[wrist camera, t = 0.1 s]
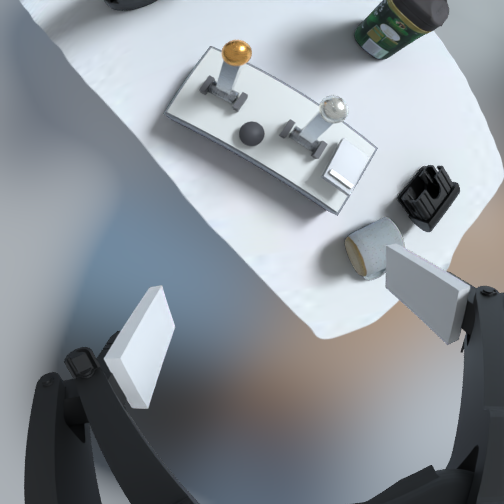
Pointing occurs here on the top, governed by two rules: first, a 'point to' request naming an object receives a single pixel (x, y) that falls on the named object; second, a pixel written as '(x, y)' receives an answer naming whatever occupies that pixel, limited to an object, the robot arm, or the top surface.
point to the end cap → (428, 196)
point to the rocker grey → (345, 167)
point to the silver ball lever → (320, 122)
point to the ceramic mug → (372, 247)
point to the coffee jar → (399, 25)
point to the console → (264, 127)
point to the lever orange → (230, 70)
